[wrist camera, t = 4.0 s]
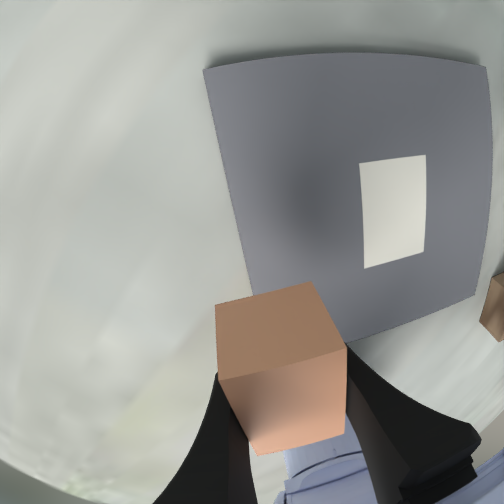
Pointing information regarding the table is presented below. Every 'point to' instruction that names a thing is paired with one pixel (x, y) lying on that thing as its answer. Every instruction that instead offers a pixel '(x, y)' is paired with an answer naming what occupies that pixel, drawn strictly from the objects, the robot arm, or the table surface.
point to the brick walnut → (494, 308)
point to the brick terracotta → (282, 367)
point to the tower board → (358, 179)
